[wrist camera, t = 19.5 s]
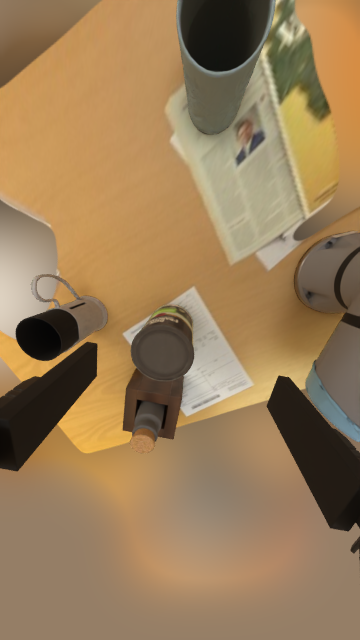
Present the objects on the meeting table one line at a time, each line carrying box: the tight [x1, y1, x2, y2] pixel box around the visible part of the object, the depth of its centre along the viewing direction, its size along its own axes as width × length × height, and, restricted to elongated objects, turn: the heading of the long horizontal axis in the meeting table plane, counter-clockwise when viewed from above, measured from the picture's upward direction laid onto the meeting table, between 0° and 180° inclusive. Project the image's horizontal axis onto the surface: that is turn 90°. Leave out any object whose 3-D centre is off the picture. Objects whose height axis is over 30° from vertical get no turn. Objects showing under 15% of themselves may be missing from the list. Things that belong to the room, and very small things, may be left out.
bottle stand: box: [123, 368, 183, 439], centre depth 45 cm, size 12×12×8 cm
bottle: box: [130, 401, 165, 453], centre depth 41 cm, size 6×6×15 cm
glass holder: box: [16, 274, 108, 361], centre depth 35 cm, size 9×14×15 cm, turn 0°
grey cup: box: [176, 0, 275, 134], centre depth 25 cm, size 10×10×12 cm
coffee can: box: [131, 304, 194, 381], centre depth 36 cm, size 10×10×14 cm
